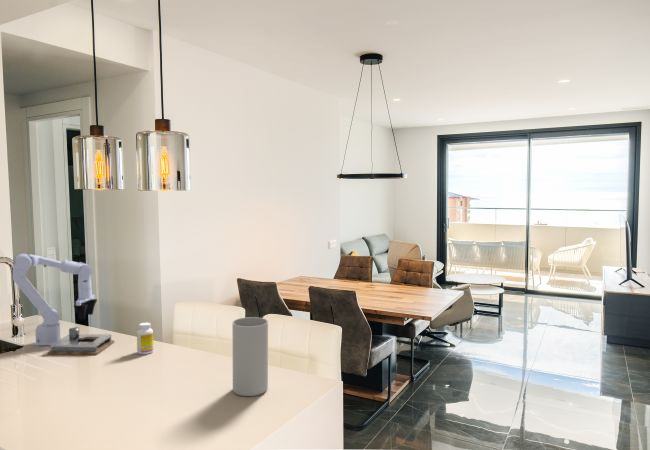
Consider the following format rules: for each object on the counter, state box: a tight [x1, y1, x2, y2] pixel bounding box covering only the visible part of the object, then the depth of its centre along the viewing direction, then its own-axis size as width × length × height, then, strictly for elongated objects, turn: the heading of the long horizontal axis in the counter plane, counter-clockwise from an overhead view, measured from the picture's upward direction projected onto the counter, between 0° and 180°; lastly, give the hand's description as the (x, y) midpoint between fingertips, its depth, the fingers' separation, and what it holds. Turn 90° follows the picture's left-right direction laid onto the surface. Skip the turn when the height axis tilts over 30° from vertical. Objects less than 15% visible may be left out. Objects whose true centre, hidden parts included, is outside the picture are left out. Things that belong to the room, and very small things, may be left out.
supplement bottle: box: [136, 322, 154, 355], centre depth 206 cm, size 7×7×13 cm
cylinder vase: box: [232, 316, 269, 397], centre depth 167 cm, size 12×12×25 cm
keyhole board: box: [46, 339, 115, 356], centre depth 211 cm, size 22×17×1 cm
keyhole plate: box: [50, 333, 112, 352], centre depth 211 cm, size 20×15×3 cm
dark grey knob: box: [68, 326, 80, 341], centre depth 211 cm, size 6×6×8 cm
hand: (86, 316), depth 225 cm, fingers open, 7 cm apart
